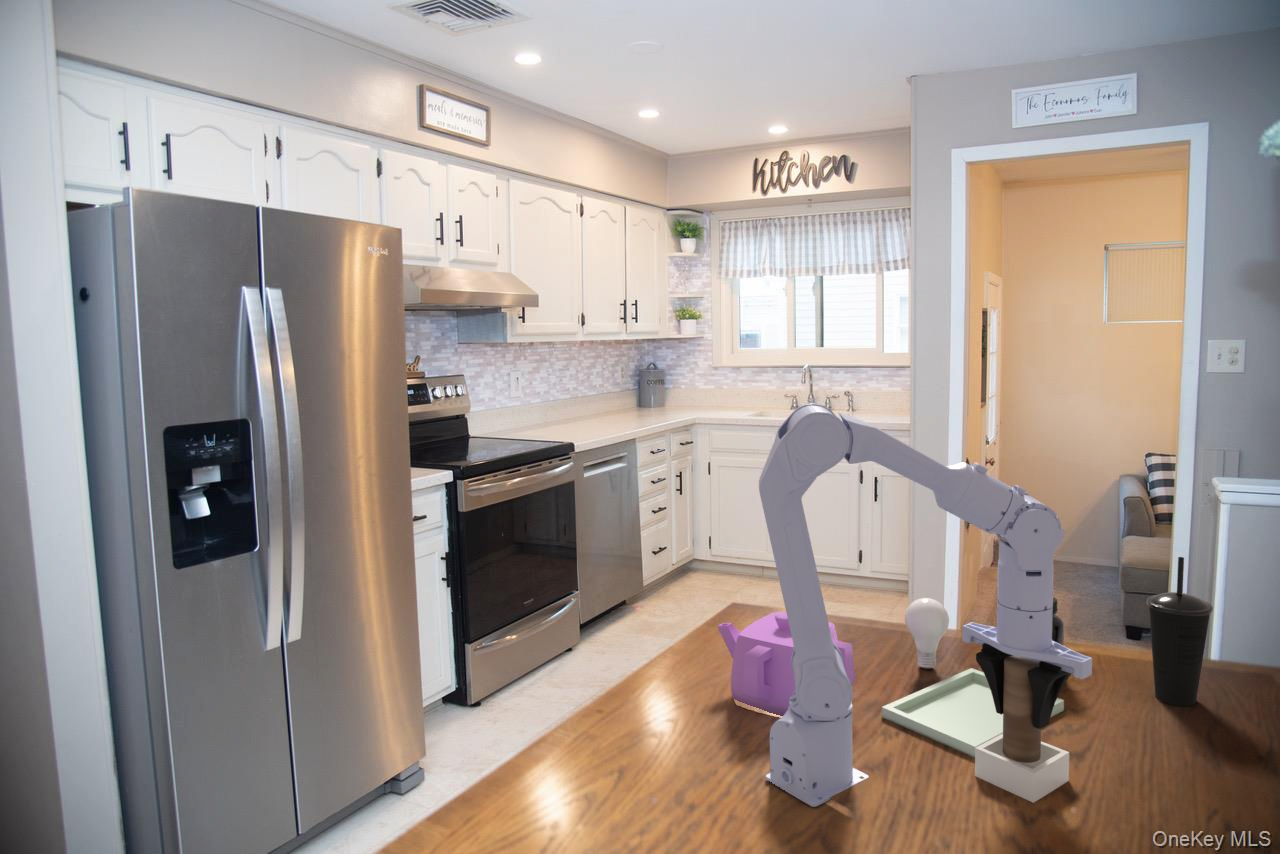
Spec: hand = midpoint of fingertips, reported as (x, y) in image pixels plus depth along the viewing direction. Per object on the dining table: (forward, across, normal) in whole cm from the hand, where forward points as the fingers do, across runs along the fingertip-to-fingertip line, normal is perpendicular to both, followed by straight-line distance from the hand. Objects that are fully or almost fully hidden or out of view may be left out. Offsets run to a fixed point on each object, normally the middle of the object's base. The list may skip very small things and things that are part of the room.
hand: (1022, 718), depth 99 cm
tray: (+8, +13, -10) cm, 18 cm away
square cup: (+8, 0, 0) cm, 8 cm away
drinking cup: (+8, -1, -36) cm, 37 cm away
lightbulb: (+8, +27, -19) cm, 34 cm away
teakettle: (+8, +34, +4) cm, 35 cm away
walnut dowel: (+4, 0, 0) cm, 4 cm away
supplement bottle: (+8, +15, -29) cm, 34 cm away
